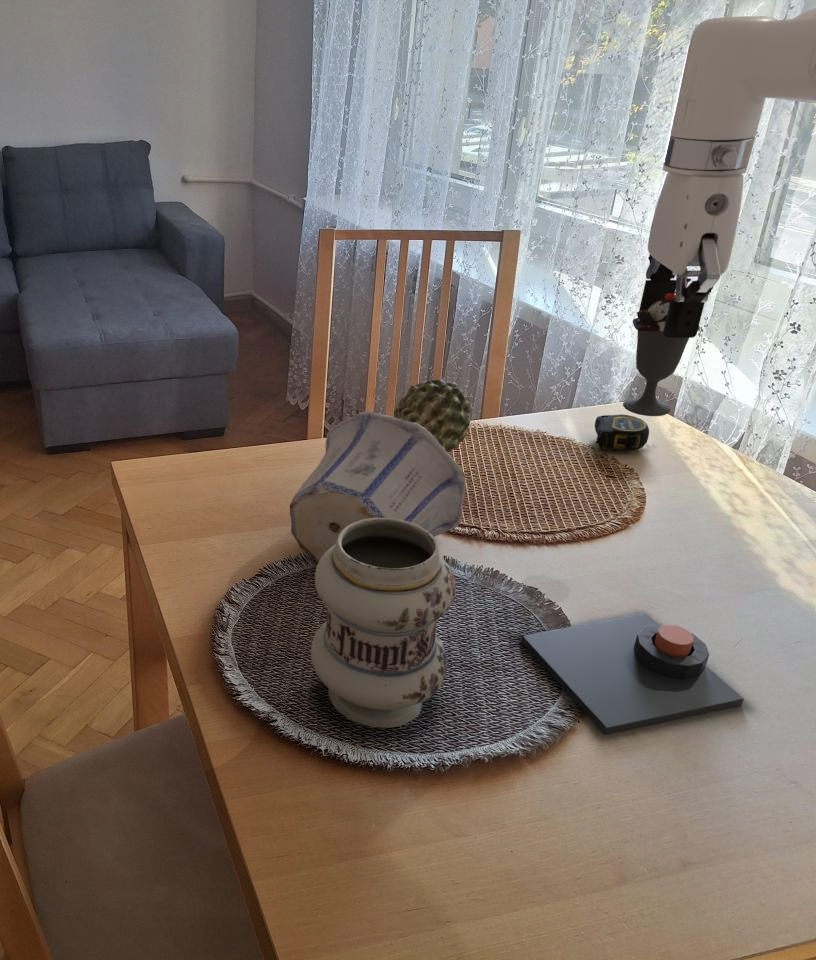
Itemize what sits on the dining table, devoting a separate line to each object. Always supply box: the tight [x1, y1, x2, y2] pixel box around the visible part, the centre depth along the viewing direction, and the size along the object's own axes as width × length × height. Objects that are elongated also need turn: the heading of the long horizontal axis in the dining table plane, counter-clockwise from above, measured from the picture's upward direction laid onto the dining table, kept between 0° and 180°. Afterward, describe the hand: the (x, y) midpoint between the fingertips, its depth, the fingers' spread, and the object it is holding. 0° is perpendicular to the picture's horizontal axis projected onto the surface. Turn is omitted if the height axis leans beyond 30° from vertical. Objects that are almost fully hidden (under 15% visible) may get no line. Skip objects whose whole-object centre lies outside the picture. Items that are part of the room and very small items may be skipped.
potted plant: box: [289, 378, 473, 564], centre depth 102 cm, size 18×18×30 cm
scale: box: [520, 612, 745, 736], centre depth 81 cm, size 14×13×3 cm
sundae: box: [622, 278, 701, 417], centre depth 96 cm, size 7×7×15 cm
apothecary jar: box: [310, 518, 457, 729], centre depth 76 cm, size 12×12×18 cm
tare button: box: [654, 624, 694, 657], centre depth 81 cm, size 3×3×2 cm
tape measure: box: [594, 414, 650, 452], centre depth 123 cm, size 7×7×4 cm
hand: (666, 324), depth 95 cm, fingers closed on sundae, 6 cm apart
